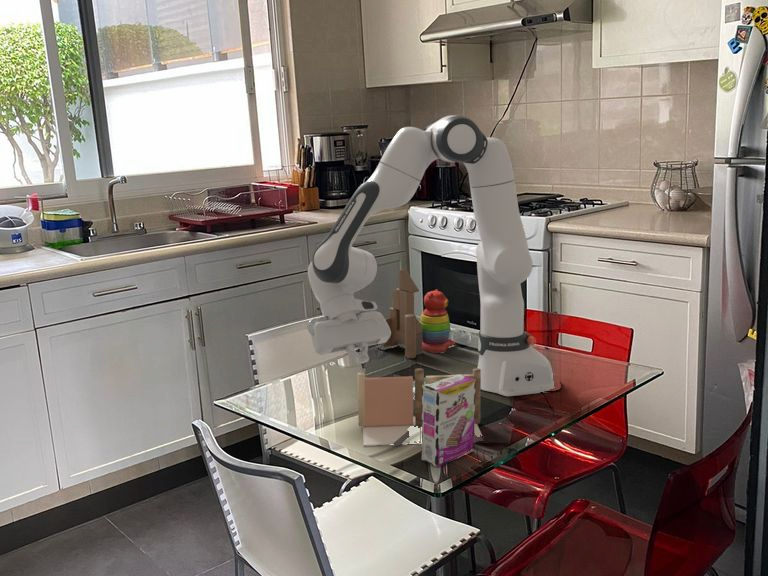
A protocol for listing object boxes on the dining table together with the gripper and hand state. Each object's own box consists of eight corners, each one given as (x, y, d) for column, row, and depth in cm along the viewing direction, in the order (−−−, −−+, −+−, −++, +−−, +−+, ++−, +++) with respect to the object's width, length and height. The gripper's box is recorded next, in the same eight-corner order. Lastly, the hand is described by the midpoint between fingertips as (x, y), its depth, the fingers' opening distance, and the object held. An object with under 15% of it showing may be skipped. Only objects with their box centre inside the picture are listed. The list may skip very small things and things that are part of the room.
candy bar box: (437, 468, 153) (437, 391, 150) (420, 461, 157) (420, 384, 154) (476, 452, 161) (476, 378, 157) (458, 445, 164) (458, 372, 161)
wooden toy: (375, 348, 235) (373, 268, 230) (391, 344, 239) (390, 265, 234) (410, 359, 224) (409, 275, 218) (426, 354, 228) (426, 272, 223)
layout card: (472, 415, 180) (472, 414, 180) (485, 443, 165) (485, 441, 165) (362, 420, 179) (362, 418, 179) (364, 448, 164) (364, 446, 164)
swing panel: (412, 421, 176) (412, 370, 173) (413, 424, 174) (412, 373, 171) (358, 423, 175) (357, 372, 172) (358, 426, 173) (357, 375, 171)
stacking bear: (442, 354, 228) (442, 296, 224) (412, 350, 233) (412, 292, 229) (458, 345, 237) (458, 289, 233) (429, 341, 242) (429, 286, 238)
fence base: (479, 422, 177) (480, 366, 174) (481, 425, 175) (481, 369, 172) (414, 424, 176) (414, 368, 173) (415, 428, 174) (415, 371, 171)
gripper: (308, 313, 182) (329, 363, 176) (381, 301, 193) (403, 348, 187) (300, 327, 187) (320, 376, 181) (372, 315, 197) (393, 361, 191)
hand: (363, 362), depth 184 cm, fingers closed
